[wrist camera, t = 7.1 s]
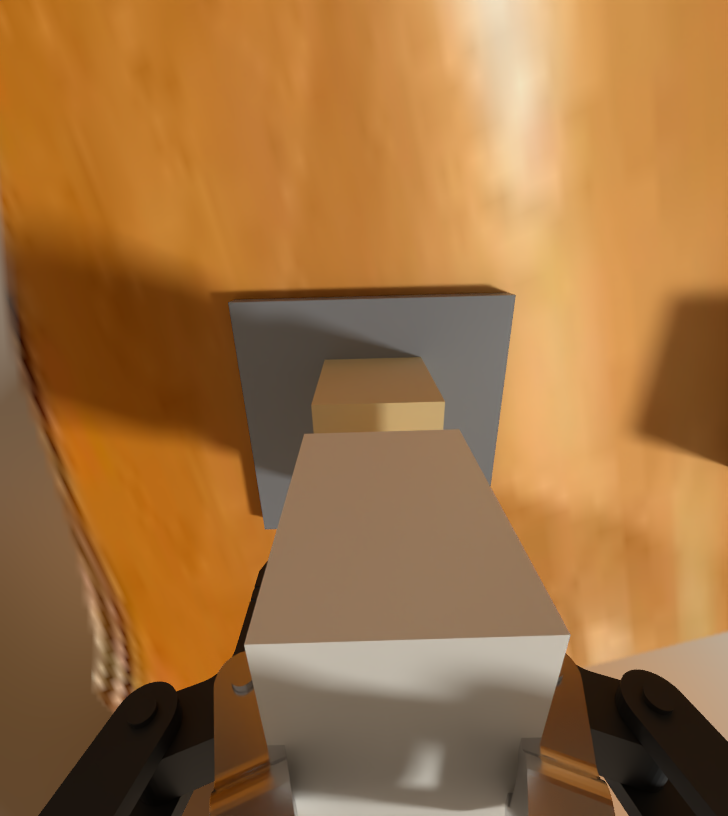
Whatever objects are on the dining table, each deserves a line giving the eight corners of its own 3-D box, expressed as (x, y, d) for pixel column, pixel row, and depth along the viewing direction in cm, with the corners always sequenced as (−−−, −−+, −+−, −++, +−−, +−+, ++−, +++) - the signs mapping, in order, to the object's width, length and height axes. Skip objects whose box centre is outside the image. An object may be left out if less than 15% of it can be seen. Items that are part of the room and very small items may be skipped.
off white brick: (304, 433, 12) (243, 644, 6) (459, 429, 12) (570, 634, 6) (321, 608, 15) (295, 869, 9) (444, 605, 15) (506, 863, 9)
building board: (234, 299, 19) (172, 327, 13) (508, 292, 19) (581, 317, 13) (268, 518, 25) (237, 614, 19) (480, 512, 25) (523, 606, 19)
